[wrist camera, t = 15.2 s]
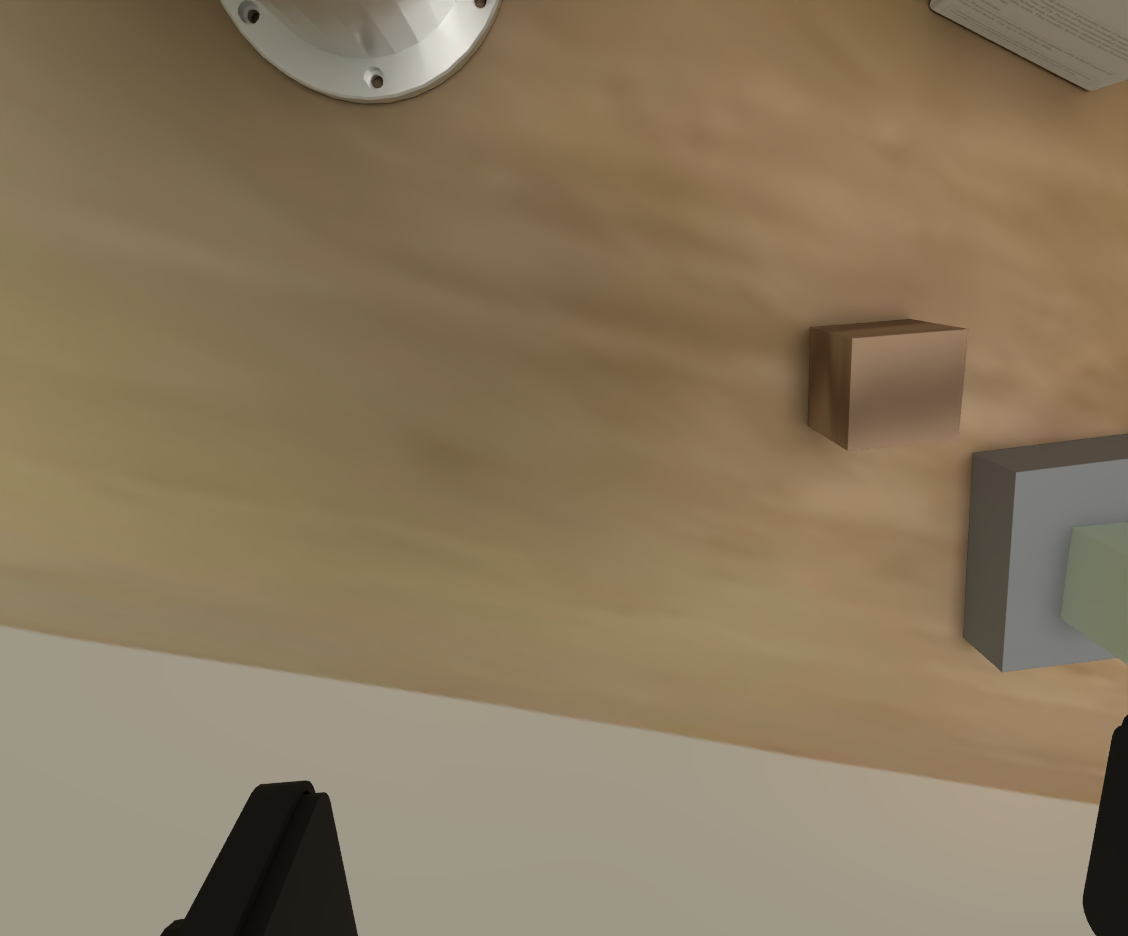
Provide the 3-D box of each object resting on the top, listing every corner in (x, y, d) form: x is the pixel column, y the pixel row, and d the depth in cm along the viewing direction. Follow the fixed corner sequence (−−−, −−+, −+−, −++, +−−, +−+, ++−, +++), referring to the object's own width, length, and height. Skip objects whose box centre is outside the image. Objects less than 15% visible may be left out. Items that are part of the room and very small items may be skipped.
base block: (967, 450, 38) (1015, 472, 34) (1173, 425, 38) (1244, 444, 34) (958, 633, 41) (1002, 672, 37) (1148, 609, 41) (1211, 646, 37)
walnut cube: (809, 327, 35) (852, 338, 30) (909, 319, 35) (968, 329, 30) (807, 425, 37) (847, 450, 32) (903, 417, 37) (958, 441, 32)
